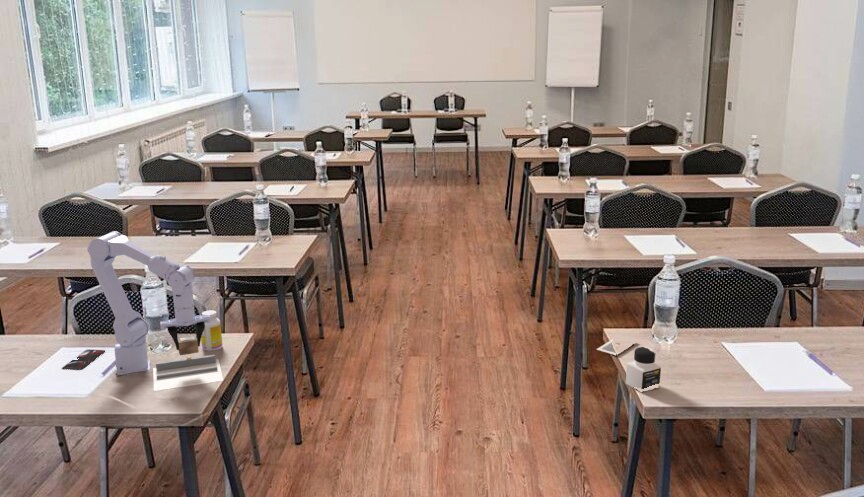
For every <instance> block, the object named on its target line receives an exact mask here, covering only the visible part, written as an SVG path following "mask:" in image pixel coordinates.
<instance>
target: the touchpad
mask: <svg viewBox="0 0 864 497" xmlns="http://www.w3.org/2000/svg"><path fill="white" fill-rule="evenodd" d="M613 339H614V338H613ZM613 339H611V340H609V341H608V342H606V343H604V344H603V345H601V346H599V347H598V348H596V350H597V351H601V352H604V353H607V354H611V355H614V356H616V353H615V351H614V349H613V345H612V341H613ZM616 344H618V345H620V343H616Z"/></svg>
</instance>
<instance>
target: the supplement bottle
mask: <svg viewBox="0 0 864 497" xmlns="http://www.w3.org/2000/svg"><path fill="white" fill-rule="evenodd" d="M217 313H218V312H217V311H216V310H210V309H209V310H205V311H202V313H201V315H209V316H210V321H211V322H210V323H207V322H206V323H204V324H205V329H204V331H203V333H202V336H201V340H200V342H201V347H202V350H204V351H217V350H221V349H222V348H223V336H222V325H221V324H222V323H221V320H220V318H218V317H217Z"/></svg>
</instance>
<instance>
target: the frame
mask: <svg viewBox="0 0 864 497" xmlns="http://www.w3.org/2000/svg"><path fill="white" fill-rule="evenodd" d="M178 344H179V350H178V353H179V356H186V355H191V354H197V353H198V354H199V351H200V350H199V347H198V340H197V337H196V334H195V335H191V336H184V337H178Z"/></svg>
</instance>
